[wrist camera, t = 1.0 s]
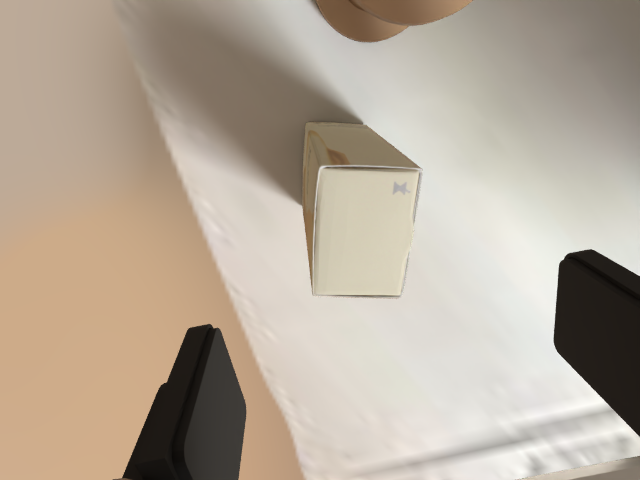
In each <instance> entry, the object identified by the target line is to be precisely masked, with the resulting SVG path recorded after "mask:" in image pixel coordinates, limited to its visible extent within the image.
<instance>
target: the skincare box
mask: <svg viewBox="0 0 640 480" xmlns="http://www.w3.org/2000/svg"><path fill="white" fill-rule="evenodd" d="M422 174H423V170H422V169H421V168H420V167H419V166H418V165H416V164H415V163H414V162H413V161H411V160H410V159H409V158H408V157H406V156H405V155H404V154H402V153H401V152H400V151H399V150H397V149H396V148H395V147H394V146H392V145H391V144H390V143H388V142H387V141H386V140H385V139H383V138H382V137H381V136H380V135H378V134H377V133H376V132H374V131H373V130H372V129H371V128H369V127H368V126H367V125H361V124H349V123H333V122H307V123H306V125H305V137H304V152H303V189H302V206H303V216H304V223H305V232H306V240H307V250H308V259H309V268H310V277H311V286H312V294H313V296H320V297H346V298H386V299H398V298H400V297H401V296H402V295H403V293H404V286H405V280H406V275H407V268H408V262H409V256H410V251H411V245H412V240H413V233H414V225H415V217H416V212H417V206H418V199H419V193H420V186H421V179H422Z"/></svg>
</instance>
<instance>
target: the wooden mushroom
mask: <svg viewBox="0 0 640 480" xmlns="http://www.w3.org/2000/svg"><path fill="white" fill-rule="evenodd" d="M472 1H473V0H316V2H317V5H318V7H319V9H320V11H321V13H322V15H323V16H324V18H325V19H326V21H327V22H328V23H329V24H330V25H331V26H332V27H333V28H334V29H335V30H336V31H337V32H339V33H340V34H342V35H343V36H345V37H347V38H349V39H352V40H355V41H360V42H378V41H381V40H385V39H388V38H390V37H392V36H395V35H397V34H398V33H400V32H402V31H403V30H404V29H406V28H407V27H408V26H414V25H423V24H426V23H430V22H434V21H437V20H439V19H442V18H444V17H447V16H449V15H452V14H454V13H455V12H457V11H459V10H461V9H462V8H464V7H465V6H467V5H468V4H469V3H471V2H472Z"/></svg>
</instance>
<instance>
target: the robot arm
mask: <svg viewBox="0 0 640 480" xmlns="http://www.w3.org/2000/svg"><path fill="white" fill-rule="evenodd" d="M554 345H555V348H556V350H557V352H558V353H559V354H560V355H561V356H562V357H563V358H564V359H565V360H566V361H567V362H568V363H569V364H570V365H571V367H572V368H573V369H574V370H575V371H576V372H577V373H578V374H579V375H580V376H581V377H582V378H583V379H584V380H585V381H586V382H587V383H588V384H589V385H590V386H591V387H592V388H593V389H594V390H595V391H596V392H597V393H598V394H599V395H600V396H601V397H602V398H603V399H604V400H605V401H606V403H607V404H608V405H609V406H610V407H611V408H612V409H613V410H614V411H615V412H616V413H617V414H618V415H619V416H620V417H621V418H622V419H623V420H624V421H625V422H626V423H627V424H628V425H629V426H630V427H631V428H632V429H633V430H634V431H635V432H636V433H637V434H638V435H639V436H640V276H638V275H636V274H635V273H633V272H631V271H629V270H628V269H626V268H624V267H622V266H621V265H619V264H617V263H615V262H614V261H612V260H610V259H608V258H607V257H605V256H603V255H602V254H600V253H598V252H596V251H594V250H592V249H590V250H584V251H579V252H573V253H569V254H567V255H566V256H565V258H564V260H562V261H561V262H560V264H559V274H558V287H557V301H556V314H555V328H554ZM245 421H246V404H245V400H244V397H243V394H242V391H241V388H240V386H239V382H238V380H237V377H236V374H235V371H234V368H233V365H232V362H231V359H230V356H229V353H228V350H227V348H226V345H225V342H224V339H223V336H222V333H221V331H220V329H219V328H213V327H212V325H211V324H207V325H202V326H197V327H192V328H189V329H188V330H187V333H186V335H185V338H184V340H183V343H182V345H181V348H180V350H179V353H178V356H177V358H176V360H175V363H174V366H173V368H172V371H171V373H170V376H169V378H168V381H167V383H164V384H163V385H161V387H160V388H159V390H158V392H157V394H156V397H155V399H154V402H153V404H152V407H151V409H150V412H149V414H148V416H147V419H146V421H145V424H144V426H143V428H142V431H141V434H140V436H139V438H138V441H137V443H136V446H135V448H134V450H133V453H132V455H131V458H130V460H129V462H128V465H127V467H126V470H125V472H124V475H123V477H122V478H121V479H113V480H238V478H239V469H240V461H241V453H242V444H243V437H244V429H245ZM517 480H640V456H637V457H631V458H626V459H621V460H616V461H610V462H605V463H600V464H595V465H589V466H584V467H579V468H574V469H568V470H563V471H558V472H553V473H548V474H543V475H538V476H532V477H527V478H522V479H517Z"/></svg>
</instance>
